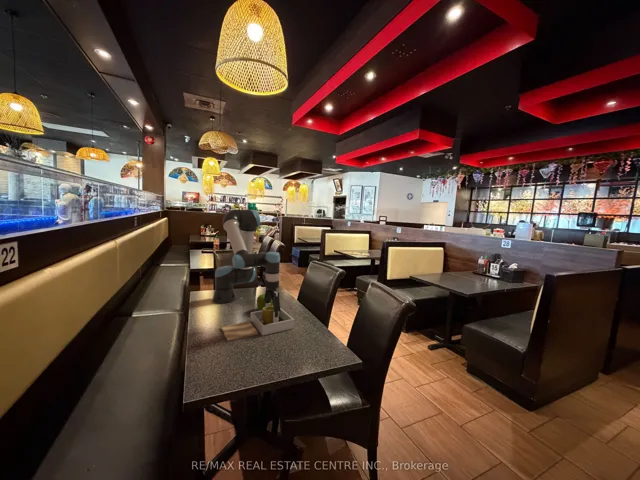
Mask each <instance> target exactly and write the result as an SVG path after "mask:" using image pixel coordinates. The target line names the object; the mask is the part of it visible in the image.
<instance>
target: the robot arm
mask: <svg viewBox="0 0 640 480" xmlns="http://www.w3.org/2000/svg"><path fill="white" fill-rule="evenodd" d="M261 224H262V223H261V216H260V214H259V211H257V210H255V209H237V208H236V209H231V210H229V211H227V212H226V213H225V215H224V216H223V218H222V227H223V230H224V231H226V234H227V237H228V239H229V242H230V246H231V248H232V252H233V254H234V255H233V256H232V259H231V262H232V265H224V266H220V267H218V268H216V269H215V274H214V278H215V280H214V281H215V282H214V285H215V290H214V293H213V297H212V302H213V303H214V304H228V303H233V302H234V301H236V298H237V295H236V293H235V290H234V285H238V284H248V283H252V282H254V280H255V278H256V268H258V267H259V268H260V267H264V268H265V275H264V278H265V283H264V284H265V285H264V287H265V293H264V294H265V298H264V301H265V303H266V307H267V306H271V303H270V302H271V299H272V303H273V308H274V311H273V323H276V322H279V321H278V311H280V308H281V304H280V292H277V291H278V290H277V289H278V288H280V273H281V272H280V267H281V265H280V264H281V263H280V261H281V257H280V253H279V251H278V252H277V251H268V252H266V251H260V252H259V253H253V248H254V238H255V237H254V236H255V232H257V229H258V228H260V226H261Z"/></svg>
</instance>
